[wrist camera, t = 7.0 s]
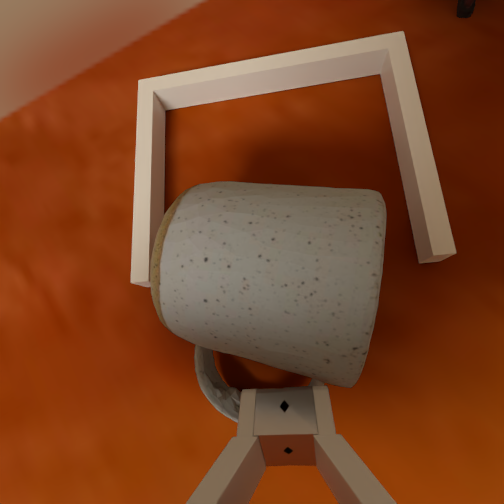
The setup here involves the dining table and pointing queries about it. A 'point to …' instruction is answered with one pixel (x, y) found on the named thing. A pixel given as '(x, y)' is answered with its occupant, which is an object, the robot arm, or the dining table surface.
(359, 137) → the dining table surface
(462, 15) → the mate gourd
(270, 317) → the ceramic mug
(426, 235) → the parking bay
